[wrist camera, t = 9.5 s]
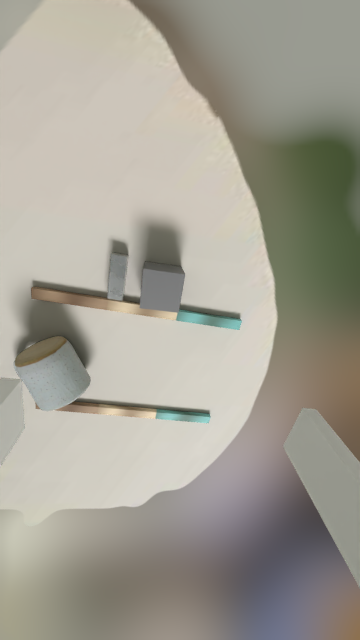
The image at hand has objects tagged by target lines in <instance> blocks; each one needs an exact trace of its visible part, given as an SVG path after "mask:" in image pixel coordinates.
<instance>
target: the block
mask: <svg viewBox="0 0 360 640" xmlns="http://www.w3.org/2000/svg"><path fill="white" fill-rule="evenodd" d="M184 278H185V273H184V271H183V269H182V267H181V266H174V265H167V264H160V263H153V262H146V261H145V264H144V268H143V277H142V287H141V297H140V307H139V308H142V309H150V310H159V311H167V312H176V313H179V308H180V302H181V296H182V290H183V284H184Z"/></svg>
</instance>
